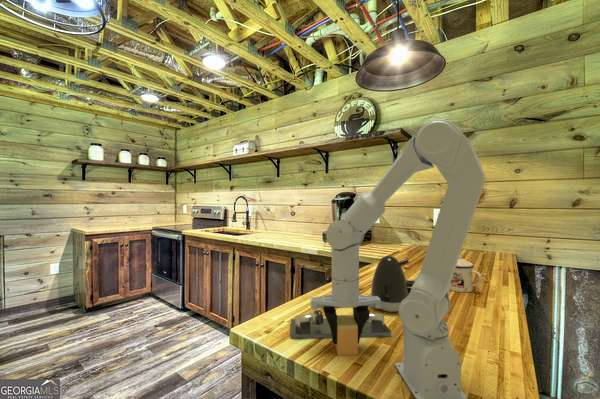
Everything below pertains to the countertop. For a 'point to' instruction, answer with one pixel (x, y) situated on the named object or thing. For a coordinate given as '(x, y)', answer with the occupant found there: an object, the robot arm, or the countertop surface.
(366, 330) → the base plate
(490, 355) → the countertop surface
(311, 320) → the shaft
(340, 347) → the block
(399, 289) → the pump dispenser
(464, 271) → the teacup with lid
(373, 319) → the shaft
